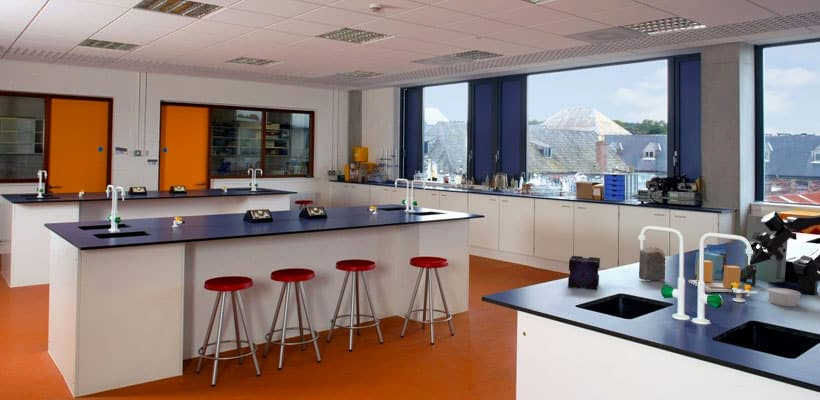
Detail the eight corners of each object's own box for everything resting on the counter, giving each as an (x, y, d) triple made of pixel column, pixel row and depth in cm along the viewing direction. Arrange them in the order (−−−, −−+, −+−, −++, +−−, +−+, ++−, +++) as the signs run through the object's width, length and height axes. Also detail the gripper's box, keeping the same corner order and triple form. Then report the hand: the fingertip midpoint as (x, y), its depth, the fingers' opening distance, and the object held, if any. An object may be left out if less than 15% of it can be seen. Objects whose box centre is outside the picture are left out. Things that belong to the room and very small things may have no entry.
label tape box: (707, 269, 317) (708, 245, 316) (704, 267, 321) (706, 244, 320) (725, 270, 315) (727, 246, 314) (723, 268, 319) (724, 244, 318)
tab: (707, 280, 280) (708, 260, 280) (711, 282, 277) (713, 262, 276) (696, 279, 281) (697, 260, 280) (700, 281, 277) (701, 261, 276)
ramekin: (796, 309, 239) (797, 295, 238) (764, 303, 246) (765, 290, 246) (802, 304, 247) (803, 291, 247) (770, 299, 255) (771, 286, 254)
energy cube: (567, 287, 267) (569, 259, 266) (570, 282, 278) (572, 255, 277) (596, 290, 263) (598, 262, 262) (598, 284, 274) (600, 257, 273)
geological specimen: (646, 282, 281) (647, 249, 280) (637, 279, 287) (638, 247, 285) (665, 281, 284) (667, 248, 283) (656, 278, 290) (657, 246, 289)
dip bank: (725, 283, 282) (725, 280, 282) (748, 293, 263) (748, 290, 263) (688, 282, 282) (688, 279, 282) (708, 292, 263) (708, 289, 263)
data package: (721, 280, 289) (723, 255, 288) (714, 281, 287) (715, 255, 286) (701, 275, 300) (703, 251, 299) (694, 275, 298) (695, 251, 297)
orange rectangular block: (734, 286, 269) (735, 265, 268) (739, 288, 265) (740, 267, 264) (722, 286, 269) (724, 265, 268) (727, 288, 265) (729, 267, 264)
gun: (744, 292, 290) (741, 272, 294) (760, 283, 275) (756, 262, 279) (738, 292, 290) (735, 271, 294) (753, 283, 276) (750, 261, 279)
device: (784, 282, 289) (789, 218, 286) (771, 282, 287) (776, 218, 284) (756, 274, 305) (760, 214, 302) (743, 275, 303) (747, 214, 300)
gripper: (753, 222, 273) (726, 247, 274) (778, 228, 255) (749, 254, 256) (770, 240, 274) (743, 264, 275) (796, 247, 255) (767, 273, 256)
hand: (750, 263), depth 266 cm, fingers closed
